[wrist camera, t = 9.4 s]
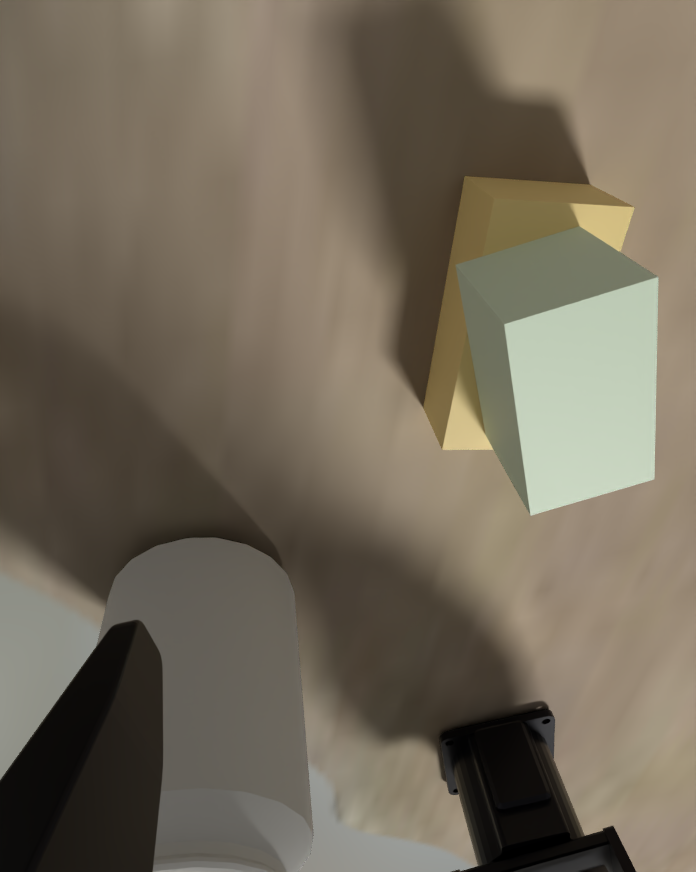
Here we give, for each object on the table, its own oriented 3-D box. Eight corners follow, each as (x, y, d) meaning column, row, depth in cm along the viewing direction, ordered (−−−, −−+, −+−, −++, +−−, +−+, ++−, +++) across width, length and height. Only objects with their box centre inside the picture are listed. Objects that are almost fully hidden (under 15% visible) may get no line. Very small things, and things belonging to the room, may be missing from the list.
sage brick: (589, 404, 20) (654, 479, 17) (485, 435, 21) (530, 515, 17) (579, 226, 17) (658, 277, 14) (455, 265, 17) (504, 324, 14)
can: (89, 534, 24) (-20, 894, 14) (283, 510, 25) (306, 840, 15) (136, 656, 28) (77, 997, 19) (301, 633, 29) (328, 952, 19)
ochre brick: (523, 403, 24) (555, 449, 21) (421, 403, 23) (442, 449, 21) (585, 182, 19) (634, 207, 17) (461, 174, 19) (494, 198, 16)
